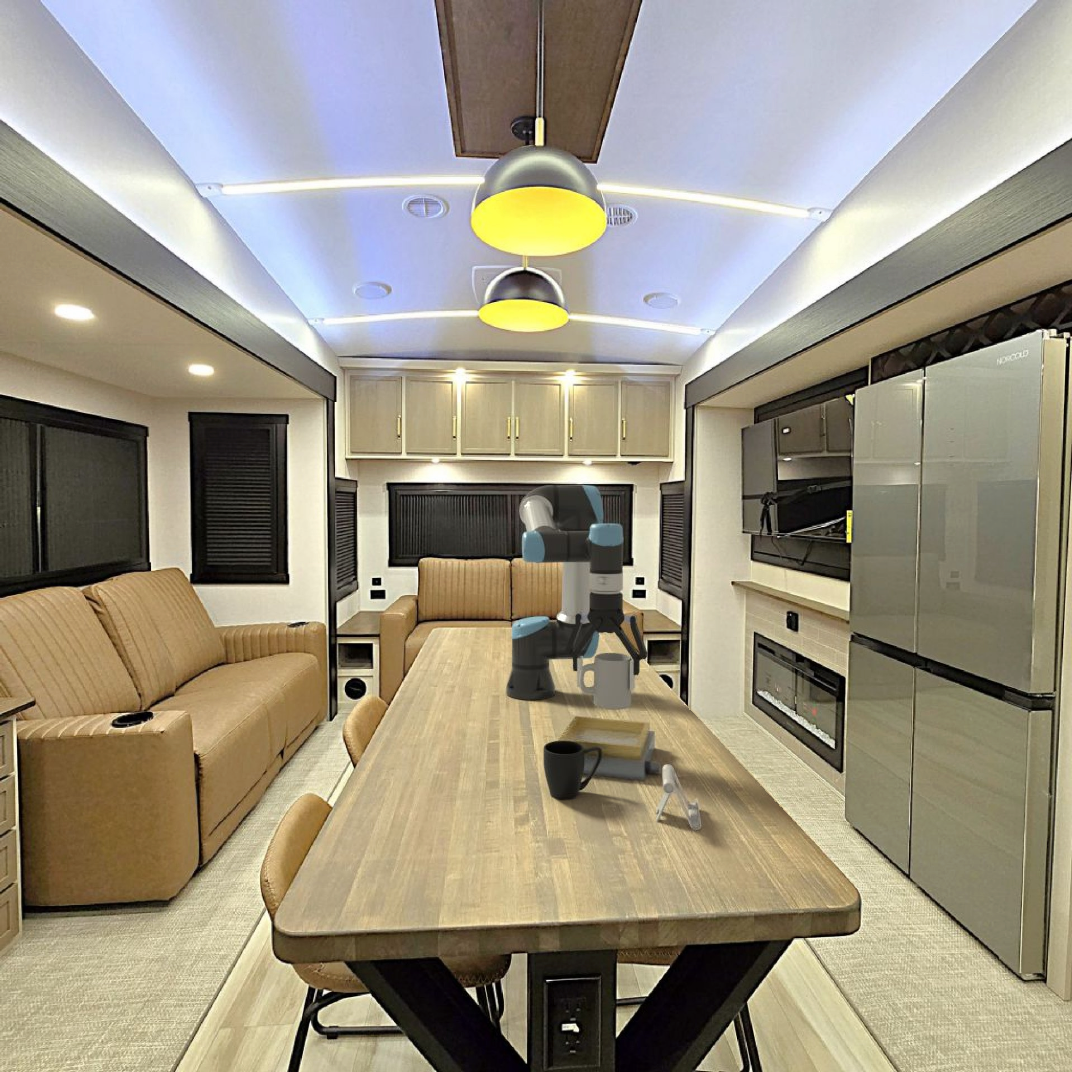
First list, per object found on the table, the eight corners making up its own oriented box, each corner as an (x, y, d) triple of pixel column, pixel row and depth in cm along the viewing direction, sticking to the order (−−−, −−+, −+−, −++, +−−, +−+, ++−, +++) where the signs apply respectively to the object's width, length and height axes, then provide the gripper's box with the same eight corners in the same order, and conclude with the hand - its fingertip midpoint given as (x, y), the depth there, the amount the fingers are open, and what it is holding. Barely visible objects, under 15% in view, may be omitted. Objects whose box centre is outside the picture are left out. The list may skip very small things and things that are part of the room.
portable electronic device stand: (701, 831, 118) (701, 784, 118) (656, 827, 120) (656, 781, 119) (698, 809, 127) (698, 766, 126) (656, 806, 128) (656, 763, 128)
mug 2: (625, 698, 157) (625, 652, 156) (635, 709, 149) (636, 660, 148) (575, 699, 155) (575, 653, 155) (583, 711, 147) (583, 662, 146)
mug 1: (607, 799, 131) (608, 751, 130) (548, 804, 129) (548, 756, 128) (596, 782, 139) (596, 737, 139) (539, 787, 137) (539, 741, 136)
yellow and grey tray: (552, 770, 145) (552, 741, 145) (572, 739, 164) (572, 714, 164) (657, 782, 139) (657, 751, 139) (666, 749, 158) (666, 722, 158)
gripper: (551, 591, 150) (551, 687, 151) (657, 595, 144) (656, 695, 144) (559, 588, 157) (559, 679, 158) (660, 591, 151) (660, 686, 152)
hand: (605, 687), depth 151 cm, fingers closed on mug 2, 11 cm apart
